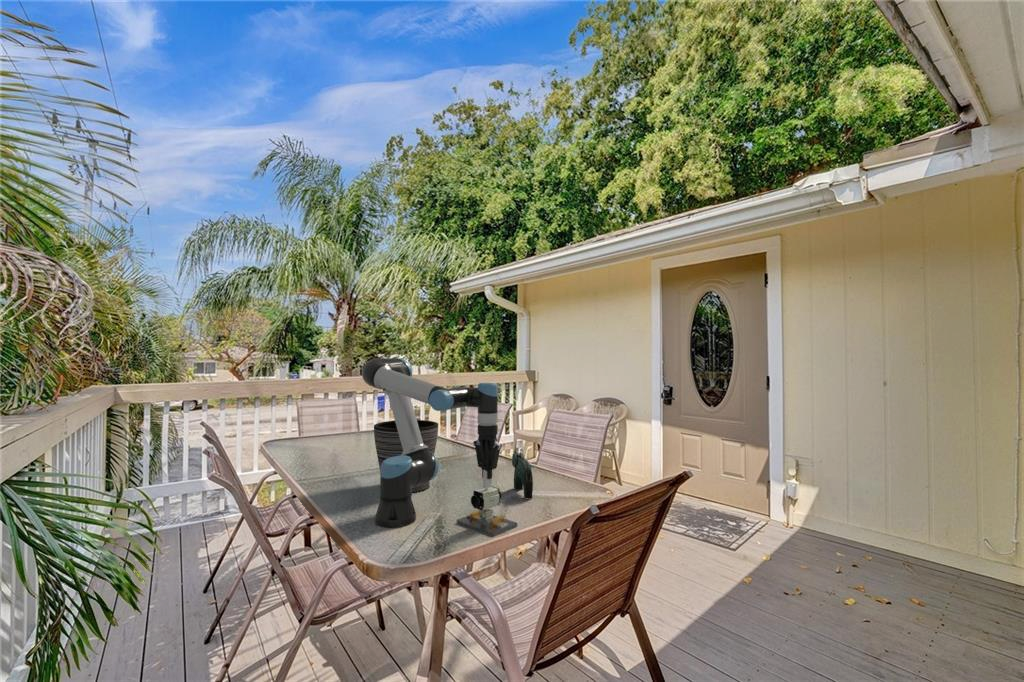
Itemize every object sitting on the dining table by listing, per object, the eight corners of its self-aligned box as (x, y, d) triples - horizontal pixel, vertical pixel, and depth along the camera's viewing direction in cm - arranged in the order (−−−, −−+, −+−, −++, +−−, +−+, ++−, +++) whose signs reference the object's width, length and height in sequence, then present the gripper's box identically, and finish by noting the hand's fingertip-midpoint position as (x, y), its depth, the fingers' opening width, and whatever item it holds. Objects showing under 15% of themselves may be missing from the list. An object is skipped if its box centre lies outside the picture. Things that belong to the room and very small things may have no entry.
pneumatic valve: (470, 521, 170) (470, 488, 171) (493, 513, 179) (493, 482, 179) (480, 525, 167) (480, 491, 167) (503, 517, 175) (503, 485, 175)
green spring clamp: (510, 487, 221) (510, 445, 222) (523, 486, 223) (523, 444, 224) (523, 500, 202) (523, 454, 203) (537, 498, 204) (537, 453, 205)
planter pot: (370, 499, 202) (371, 430, 203) (374, 480, 231) (375, 420, 232) (440, 494, 209) (440, 428, 210) (435, 477, 238) (436, 419, 239)
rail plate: (493, 536, 162) (493, 526, 162) (456, 523, 174) (456, 513, 174) (517, 526, 171) (517, 516, 172) (480, 514, 184) (480, 505, 184)
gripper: (507, 424, 172) (506, 488, 172) (482, 421, 181) (481, 481, 180) (493, 426, 167) (492, 492, 166) (468, 423, 175) (467, 485, 174)
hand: (487, 487), depth 173 cm, fingers closed
